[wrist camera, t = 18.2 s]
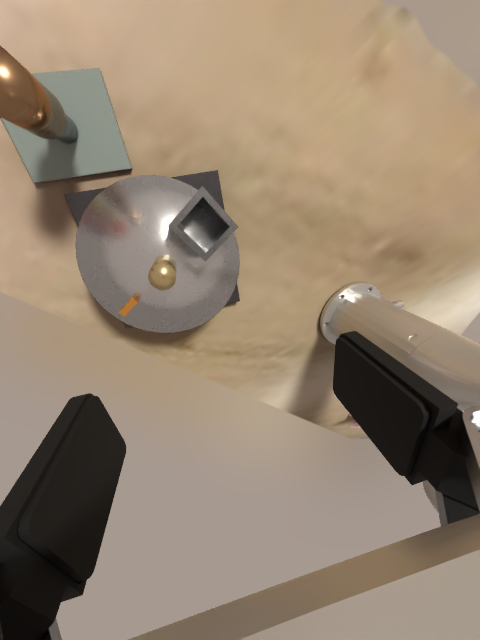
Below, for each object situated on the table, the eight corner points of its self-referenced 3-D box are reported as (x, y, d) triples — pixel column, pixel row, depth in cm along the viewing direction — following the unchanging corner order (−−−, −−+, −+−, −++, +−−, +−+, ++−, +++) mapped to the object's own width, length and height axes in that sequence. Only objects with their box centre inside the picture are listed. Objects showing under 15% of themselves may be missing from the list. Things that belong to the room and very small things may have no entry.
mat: (100, 71, 22) (98, 68, 21) (132, 169, 26) (131, 168, 25) (-15, 81, 20) (-20, 78, 20) (37, 183, 24) (33, 182, 24)
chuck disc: (176, 347, 32) (175, 380, 26) (48, 264, 24) (4, 283, 18) (262, 259, 29) (283, 273, 23) (151, 134, 21) (140, 105, 15)
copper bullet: (73, 102, 22) (4, 31, 13) (91, 147, 24) (41, 111, 15) (34, 108, 21) (-65, 39, 13) (55, 154, 23) (-19, 120, 14)
